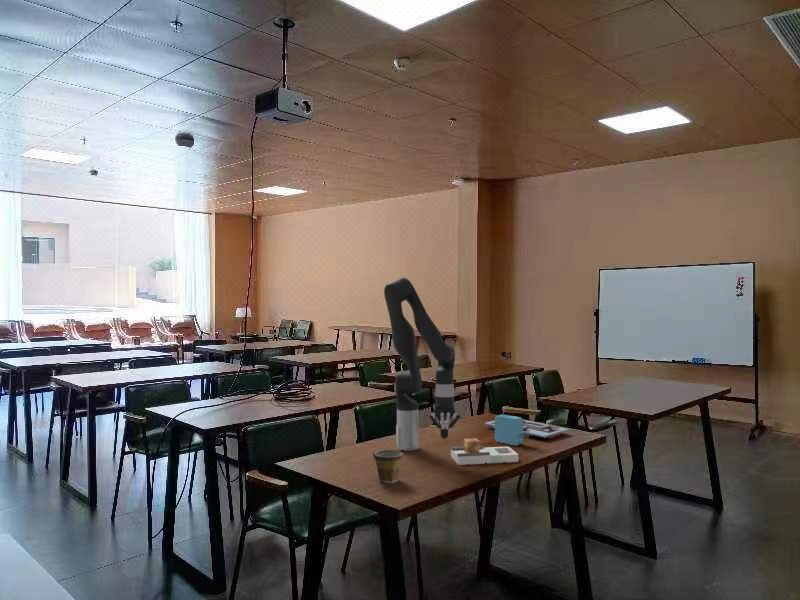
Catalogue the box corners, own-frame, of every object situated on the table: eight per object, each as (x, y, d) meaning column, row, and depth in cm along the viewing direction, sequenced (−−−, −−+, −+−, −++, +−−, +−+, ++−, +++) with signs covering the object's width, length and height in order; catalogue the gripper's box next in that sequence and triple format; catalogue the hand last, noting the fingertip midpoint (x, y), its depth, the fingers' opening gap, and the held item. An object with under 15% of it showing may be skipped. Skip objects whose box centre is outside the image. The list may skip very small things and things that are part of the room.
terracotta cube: (467, 454, 232) (467, 441, 232) (463, 450, 237) (463, 438, 237) (479, 453, 233) (479, 441, 233) (475, 450, 238) (475, 438, 238)
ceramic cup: (408, 480, 209) (408, 453, 209) (387, 487, 202) (387, 458, 202) (383, 473, 219) (383, 446, 218) (363, 479, 212) (363, 451, 211)
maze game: (485, 429, 289) (485, 422, 289) (510, 423, 302) (510, 417, 302) (544, 442, 262) (544, 435, 262) (569, 435, 275) (569, 429, 275)
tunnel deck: (458, 464, 228) (458, 454, 228) (451, 456, 240) (451, 446, 240) (518, 461, 232) (518, 451, 232) (508, 453, 244) (508, 444, 244)
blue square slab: (523, 444, 258) (523, 417, 258) (517, 446, 255) (517, 419, 255) (499, 440, 266) (499, 413, 266) (494, 441, 263) (494, 415, 263)
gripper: (429, 396, 228) (429, 440, 228) (462, 396, 229) (462, 440, 229) (426, 393, 235) (426, 436, 235) (458, 393, 237) (458, 435, 237)
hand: (444, 438), depth 232 cm, fingers closed
